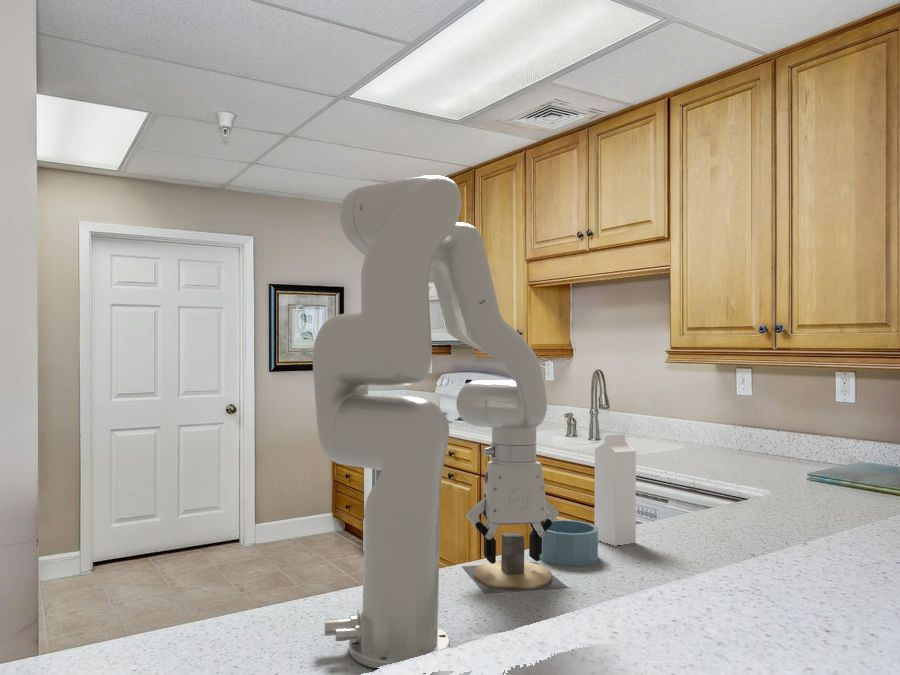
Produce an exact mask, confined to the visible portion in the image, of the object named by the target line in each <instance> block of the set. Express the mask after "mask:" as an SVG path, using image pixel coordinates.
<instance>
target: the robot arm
mask: <svg viewBox="0 0 900 675" xmlns="http://www.w3.org/2000/svg"><path fill="white" fill-rule="evenodd" d="M461 209H462V195H461V191H460V188H459V186H458V184H457V183H456V182H455V181H454V180H452V179H450V178H449V177H445V176H441V175H422V176H415V177H408V178H402V179H399V180H393V181H392V180H391V181H386V182H383V183H381V182H380V183H376V184H370V185H365V186H361V187H357V188H355V189H352V190H351V191H349V193H348V194H346V195H345V196H344V199H342V202H341V204H340V206H339V221H340V227H341V228H342V229H341V230H342V231H343V233H344V235H345V237H346V238H347V240H348V241H349V243H350V244H351V245H353V247H355V248H356V250H358V251H359V252H360V253H362V255H364V256H365V257H364V260H363V263H362V267H361V272H360V296H361V297H360V299H361V300H360V302H361V303H360V304H361V310H360V312H350V313H349V312H347V313H340V314H337V315H334V316H332V317H331V318H329V319H327V320H326V321H325V322H324V323H323V324H322V326H321V327H320V329H319V330H318V333H317V334H316V337H315V340H314V344H313V349H312V373H313V387H314V398H315V399H314V400H315V402H314V403H315V412H316V413H315V415H316V423H317V424H316V426H317V434H318V439H319V442H320V447H321V448H322V451H323V452H324V454H325V455H326V456H327V458H329V460H331V461H332V462H334V463H336V464H339V465H344V466H348V467H349V466H350V467H356V468H366V469H371V470H373V469H374V470H377V471H380V474H379V476H378V478H377V481H376V482H375V483H374V485H373V486H372V488H371V490H370V492H369V493H368V496H367V498H366V501H365V506H364V512H363V513H364V514H363V516H364V517H363V524H364V525H363V526H364V528H363V530H364V532H363V533H364V534H363V570H362V571H363V572H362V574H363V575H362V576H363V577H362V581H363V582H362V606H358V607H357V614H351V615H350V616H349V618H340V617H339V618H338V617H337V618H325V619H324V636H325V637H329V636H335V641H336V642H344V641H345V642H346V641H348V652H349V655H350V656H351V657H352V659H353V660H355V661H356V662H358V663H360V664H361V665H364V666H366V667H368V668H372V669H375V668H377V667H380V666H383V665H387V664H392V663H397V662H400V661H404V660H407V659H410V658H414V657H418V656H421V655H425V654H427V653H430V652H433V651H436V650H440V649H443V648H447V647H450V645H451V640H450V637H449V635H448V634H447V633H446V632H445V631H444V630H443V629H442V628H439V579H440V578H439V576H440V573H439V572H440V570H439V569H440V517H441V516H440V515H441V514H440V511H441V510H440V509H441V507H440V506H441V488H442V478H443V471H444V466H445V460H446V455H447V450H448V444H449V439H450V427H449V426H450V425H449V421H448V418H447V416H446V414H445V412H444V411H443V409H442V408H441V407H440V406H439V405H437V404H436V403H434V402H433V401H431V400H428V399H425V398H422V397H416V396H408V395H407V396H406V395H389V394H388V395H387V394H386V395H385V394H383V395H375V394H373V395H372V394H369V386H370V387H405V386H406V387H407V386H408V387H409V386H412V385H416V384H419V383H421V382H423V381H424V380H425V379H426V378H427V377H428V375H429V373H430V371H431V369H432V368H431V366H432V361H433V360H432V359H433V356H432V354H433V348H432V347H433V346H432V342H433V341H432V329H431V328H432V327H431V326H432V325H431V311H430V310H431V308H430V292H429V291H430V290H429V289H430V288H429V287H430V286H429V285H430V284H429V283H433V284H434V288H435V292H436V295H437V298H438V302H439V305H440V310H441V313H442V317H443V321H444V326H445V327H446V331H447V333H448V334H449V335H450V336H451V337H452V338H454V339H455V340H458V341H460V342H461V343H463V344H466V345H467V346H470V347H472V348H475V349H476V350H478V351H481V352H483V353H484V354H487V356H490V357H492V358H493V359H496V360H497V362H499V363H500V364H501V365H503V366H504V367H505V368H506V369H507V371H508V372H509V373H510V375H511V376H512V379H513V380H506V379H505V380H504V379H503V380H501V379H497V380H493V379H492V380H491V379H490V380H489V379H482V380H481V379H478V380H472V381H470V382H467V383H466V384H464V386H462V387H461V389H460V390H459V392H458V393H457V397H456V410H457V413H458V415H459V417H460V419H462V420H463V421H464V422H465V423H466V424H468V425H471V426H475V427H482V428H491V443H490V446H487V447H484V448H483V455H484V456H487V457H490V459H491V460H489V461H488V462H487V466H486V470H485V477H484V483H483V491H482V492H483V493H482V499H481V500H479V502H477V503H476V504H475V505H474V506H473V507H471V509H469V510H468V511H467V513H466V518H467V519H468V520H469V521H470V523H471V524H472V525H473V527H474V528H475V529H477V530H478V532H479V533H480V534H481V535H482V536H483V556H484V558H485V559H486V560H487V562H490V563H491V564H495V563H496V561H497V540H496V539H495V537H494V536H495V533H496V531H497V529H499V528H498V527H499V526H507V525H508V526H510V525H529V527H530V529H531V532H530V533H529V535H528V536H529V540H528V545H529V547H528V555H529V557H530V558H531V559H532V560H534V562H539V561H540V560H541V559H540V554H542V537H543V536H544V535H545V532H546V531H547V530H548V528H549V527H550V526H551V525H552V522H553V521H554V520H557V518H558V516H559V514H560V511H559V510H558V509H557V508H556V507H555V506H554V505H552V504H551V503H550V501H548V500H547V498H546V486H545V479H544V472H543V471H544V470H543V466H542V463H541V462H540V461H537V427H539V426H540V425H541V424H542V423H543V422H544V419H545V418H546V415H547V411H548V410H547V409H548V398H547V390H546V387H545V386H546V385H545V381H544V376H543V372H542V368H541V364H540V361H539V359H538V356H537V355H536V353H535V351H534V350H533V349H532V347H531V346H530V345H529V344H528V342H527V341H526V340H525V338H524V337H522V335H521V334H520V333H519V332H518V331H517V330H516V329H515V328H514V327H513V326H512V325H510V324H509V323H507V321H506V320H505V319H504V318H503V317H502V315H501V312H500V308H499V302H498V299H497V295H496V290H495V286H494V282H493V277H492V273H491V269H490V263H489V260H488V256H487V251H486V247H485V243H484V240H483V237H482V234H481V232H480V231H479V230H478V228H476V227H475V226H474V225H471V224H469V223H465V222H458V221H459V218H460V216H461V215H460V214H461ZM481 513H482V515H483V517H484V518H485V519H486V521H485V522H484V523H482V522H481V520H480V518H479V515H481Z"/></svg>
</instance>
